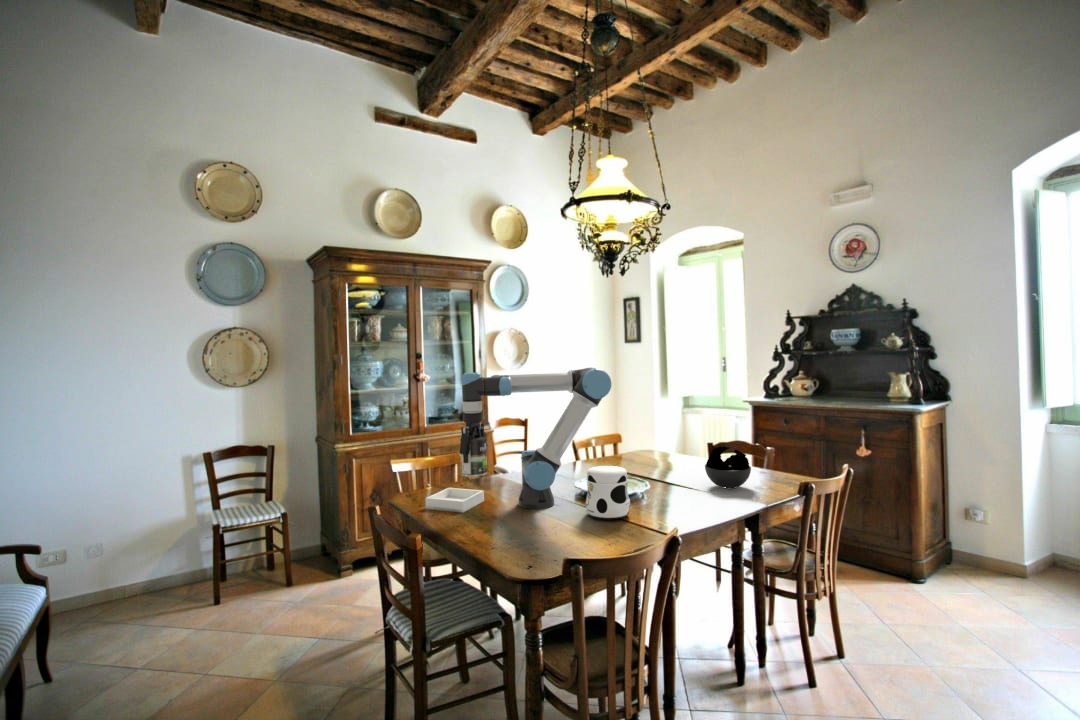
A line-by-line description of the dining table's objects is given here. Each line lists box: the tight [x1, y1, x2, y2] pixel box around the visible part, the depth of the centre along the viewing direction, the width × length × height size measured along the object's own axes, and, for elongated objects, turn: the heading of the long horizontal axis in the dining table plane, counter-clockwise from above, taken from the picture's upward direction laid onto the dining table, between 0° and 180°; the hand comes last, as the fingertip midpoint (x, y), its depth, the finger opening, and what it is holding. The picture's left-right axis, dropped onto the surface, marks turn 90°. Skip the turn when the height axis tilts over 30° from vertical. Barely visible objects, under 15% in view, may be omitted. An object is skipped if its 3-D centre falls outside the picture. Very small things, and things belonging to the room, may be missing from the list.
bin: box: [425, 487, 485, 514], centre depth 231 cm, size 18×18×4 cm
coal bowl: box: [704, 445, 752, 489], centre depth 247 cm, size 20×20×19 cm
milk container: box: [585, 465, 631, 520], centre depth 210 cm, size 17×17×18 cm
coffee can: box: [459, 436, 488, 478], centre depth 212 cm, size 10×10×14 cm
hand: (474, 468), depth 212 cm, fingers closed on coffee can, 10 cm apart
